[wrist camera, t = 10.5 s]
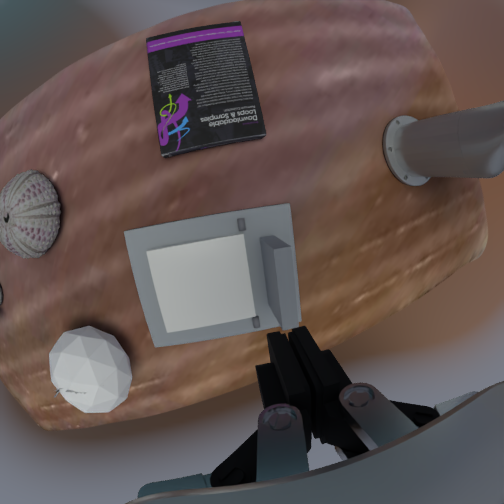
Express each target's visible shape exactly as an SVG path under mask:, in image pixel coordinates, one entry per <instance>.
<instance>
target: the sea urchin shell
mask: <svg viewBox="0 0 504 504" xmlns="http://www.w3.org/2000/svg"><path fill="white" fill-rule="evenodd" d="M57 198H58V195H56V191H55V189H54V186H53V185H52V184H51V182H50V181H49V179H47V178H46V177H44V175H41V174H40V173H39V172H38V171H35V170H32V169H31V170H28V171H26V172H22V173H20V174H17V175H16V176H15V177H14V178H13V179H12V180H10V182H8V183H7V185H6V186H5V188H3V190H2V191H1V193H0V240H1V242H2V244H3V245H4V246H5V248H7V250H9V251H10V252H13V253H15V255H18V256H21V257H22V258H24V259H25V258H27V259H28V258H30V257H32V258H33V257H35V258H36V257H38V258H39V257H40V256H42V254H44V255H45V252H47V249H48V248H50V247H51V244H53V242H54V241H55V238H56V236H57V234H58V229H59V227H60V225H59V223H60V220H59V215H60V213H61V211H60V203H59V202H58V199H57Z"/></svg>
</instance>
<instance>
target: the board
mask: <svg viewBox="0 0 504 504" xmlns="http://www.w3.org/2000/svg"><path fill="white" fill-rule="evenodd" d="M239 233H243V234H244V240H245V247H246V254H247V261H248V267H249V274H250V281H251V287H252V294H253V301H254V307H255V314H256V316H255V317H251V318H246V319H241V320H236V321H231V322H226V323H221V324H216V325H211V326H205V327H200V328H194V329H188V330H182V331H176V332H170V333H167V331H166V327H165V324H164V320H163V317H162V313H161V310H160V306H159V302H158V299H157V295H156V291H155V287H154V283H153V279H152V275H151V271H150V266H149V262H148V257H147V253H146V251H147V250H151V249H156V248H161V247H167V246H172V245H177V244H183V243H188V242H194V241H199V240H205V239H210V238H216V237H222V236H227V235H233V234H239ZM124 235H125V239H126V244H127V249H128V253H129V258H130V262H131V266H132V271H133V275H134V279H135V282H136V286H137V290H138V294H139V297H140V301H141V304H142V308H143V311H144V315H145V318H146V321H147V324H148V328H149V331H150V334H151V337H152V340H153V343H154V346H155V347H162V346H170V345H177V344H185V343H191V342H198V341H204V340H211V339H217V338H222V337H228V336H234V335H239V334H244V333H250V332H255V331H260V330H264V329H269V328H274V327H278V326H281V328H282V330H288V329H292V328H296V327H299V324H298V322H300V321H301V309H300V297H299V286H298V275H297V264H296V254H295V245H294V236H293V227H292V218H291V210H290V203H285V204H277V205H270V206H263V207H256V208H250V209H243V210H237V211H230V212H224V213H218V214H212V215H206V216H200V217H195V218H189V219H184V220H178V221H173V222H167V223H162V224H157V225H152V226H147V227H142V228H137V229H132V230H127V231H125V232H124Z"/></svg>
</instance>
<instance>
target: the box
mask: <svg viewBox="0 0 504 504" xmlns="http://www.w3.org/2000/svg"><path fill="white" fill-rule="evenodd" d="M146 42H147V51H148V61H149V70H150V78H151V87H152V95H153V102H154V110H155V116H156V123H157V130H158V136H159V142H160V149H161V155H162V156H163V157H164V158H167V157H171V156H175V155H179V154H183V153H188V152H192V151H196V150H201V149H206V148H210V147H215V146H220V145H225V144H231V143H236V142H243V141H249V140H256V139H262V138H263V137H265V136H266V130H265V125H264V120H263V116H262V111H261V107H260V102H259V97H258V93H257V88H256V84H255V80H254V75H253V71H252V67H251V63H250V58H249V54H248V50H247V46H246V42H245V38H244V34H243V30H242V26H241V22H240V21H236V22H230V23H222V24H214V25H207V26H200V27H195V28H189V29H184V30H179V31H175V32H170V33H166V34H162V35H157V36H153V37H149V38H147V39H146Z"/></svg>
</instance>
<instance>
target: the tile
mask: <svg viewBox="0 0 504 504" xmlns="http://www.w3.org/2000/svg"><path fill="white" fill-rule="evenodd" d="M146 253H147V257H148V262H149V266H150V271H151V275H152V279H153V283H154V287H155V291H156V295H157V299H158V302H159V306H160V310H161V313H162V317H163V320H164V324H165V327H166V331H167V333H170V332H176V331H182V330H188V329H194V328H200V327H205V326H211V325H216V324H221V323H226V322H231V321H236V320H241V319H246V318H251V317H255V316H256V314H255V307H254V301H253V294H252V287H251V281H250V274H249V267H248V261H247V254H246V247H245V240H244V234H243V233H239V234H233V235H227V236H222V237H216V238H210V239H205V240H199V241H194V242H188V243H183V244H177V245H172V246H167V247H161V248H156V249H151V250H147V251H146Z"/></svg>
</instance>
